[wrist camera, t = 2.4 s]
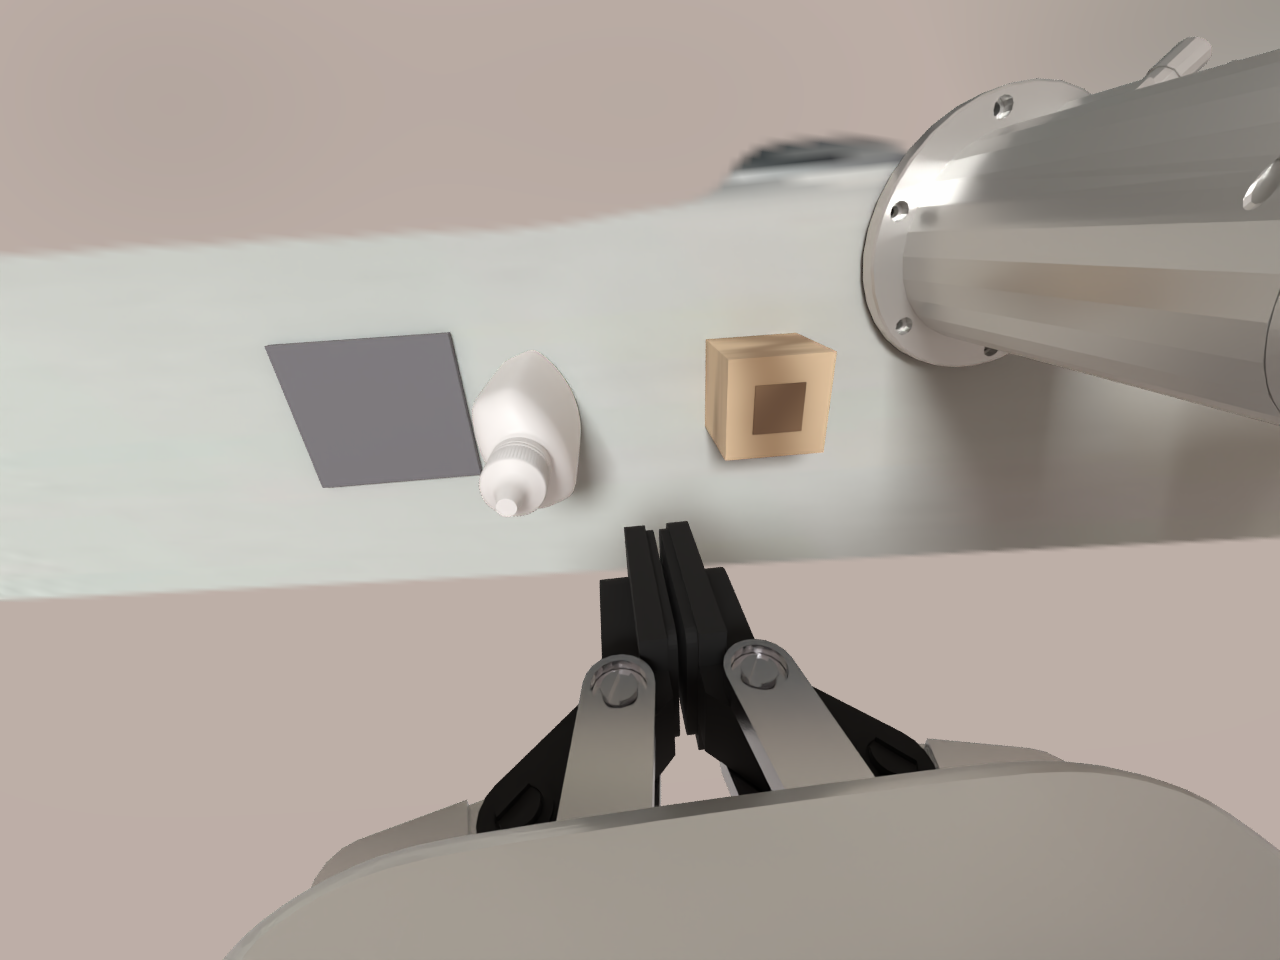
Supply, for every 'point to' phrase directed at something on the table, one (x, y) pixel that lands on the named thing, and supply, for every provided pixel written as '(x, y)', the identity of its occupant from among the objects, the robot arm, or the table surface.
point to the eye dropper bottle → (527, 436)
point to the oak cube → (768, 395)
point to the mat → (379, 408)
